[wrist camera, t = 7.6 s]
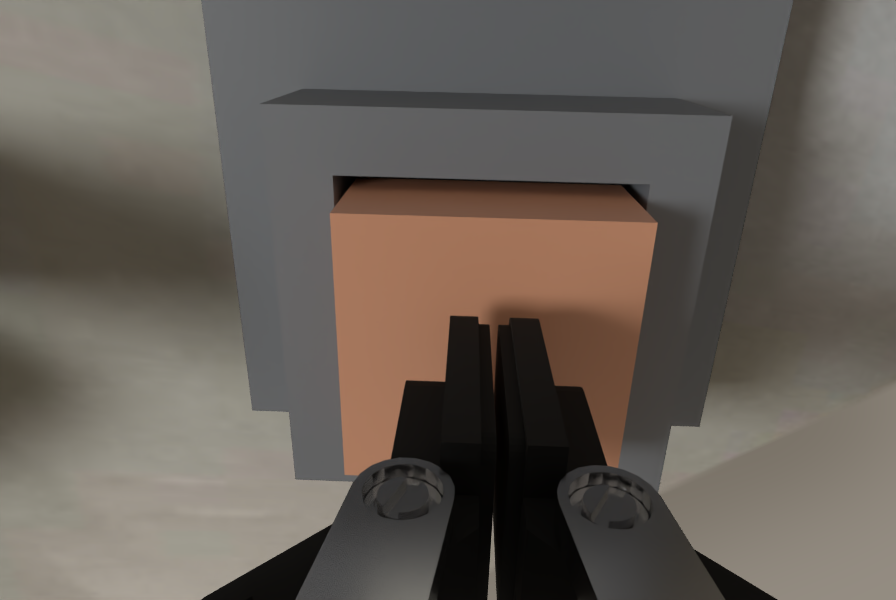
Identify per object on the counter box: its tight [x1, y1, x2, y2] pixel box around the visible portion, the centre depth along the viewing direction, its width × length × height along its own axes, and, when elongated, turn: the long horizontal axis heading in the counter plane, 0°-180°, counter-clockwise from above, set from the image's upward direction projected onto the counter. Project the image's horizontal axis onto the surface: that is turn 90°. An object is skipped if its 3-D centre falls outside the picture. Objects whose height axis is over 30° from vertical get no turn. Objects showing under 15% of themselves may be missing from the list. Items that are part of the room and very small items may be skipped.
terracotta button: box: [330, 178, 658, 475], centre depth 14 cm, size 6×6×3 cm
